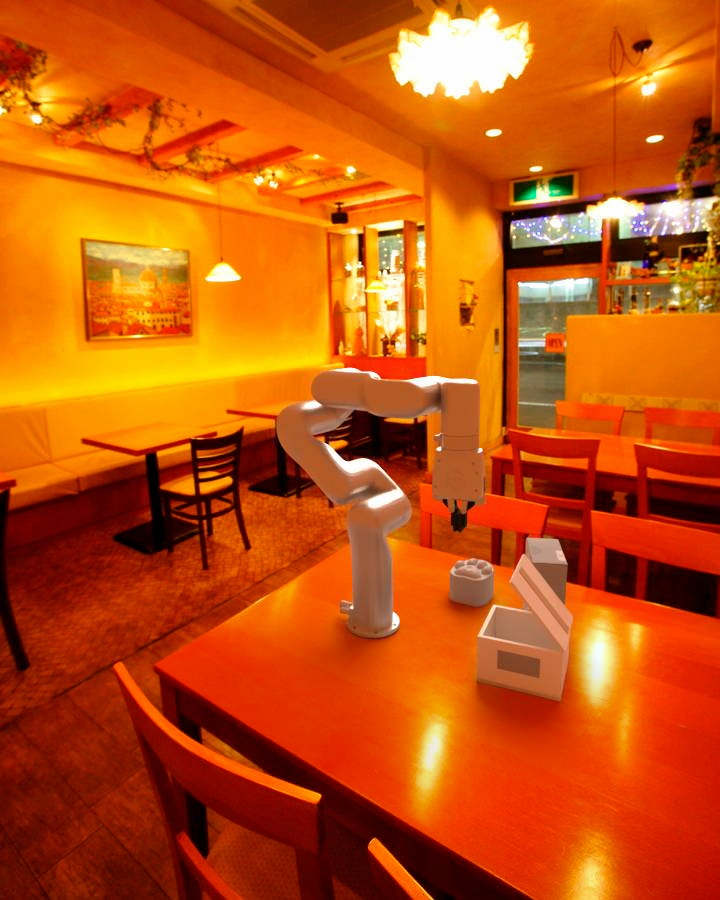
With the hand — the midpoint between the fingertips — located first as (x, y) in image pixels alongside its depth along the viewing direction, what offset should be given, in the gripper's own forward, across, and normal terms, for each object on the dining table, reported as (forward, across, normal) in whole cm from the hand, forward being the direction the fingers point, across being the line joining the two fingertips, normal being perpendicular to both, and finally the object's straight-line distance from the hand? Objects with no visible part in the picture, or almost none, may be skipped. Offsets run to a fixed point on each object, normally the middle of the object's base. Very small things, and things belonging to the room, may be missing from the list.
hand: (458, 529), depth 117 cm
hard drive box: (+29, +15, +18) cm, 37 cm away
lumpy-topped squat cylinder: (+29, -4, +30) cm, 42 cm away
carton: (+29, +14, 0) cm, 32 cm away
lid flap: (+13, +17, 0) cm, 21 cm away
